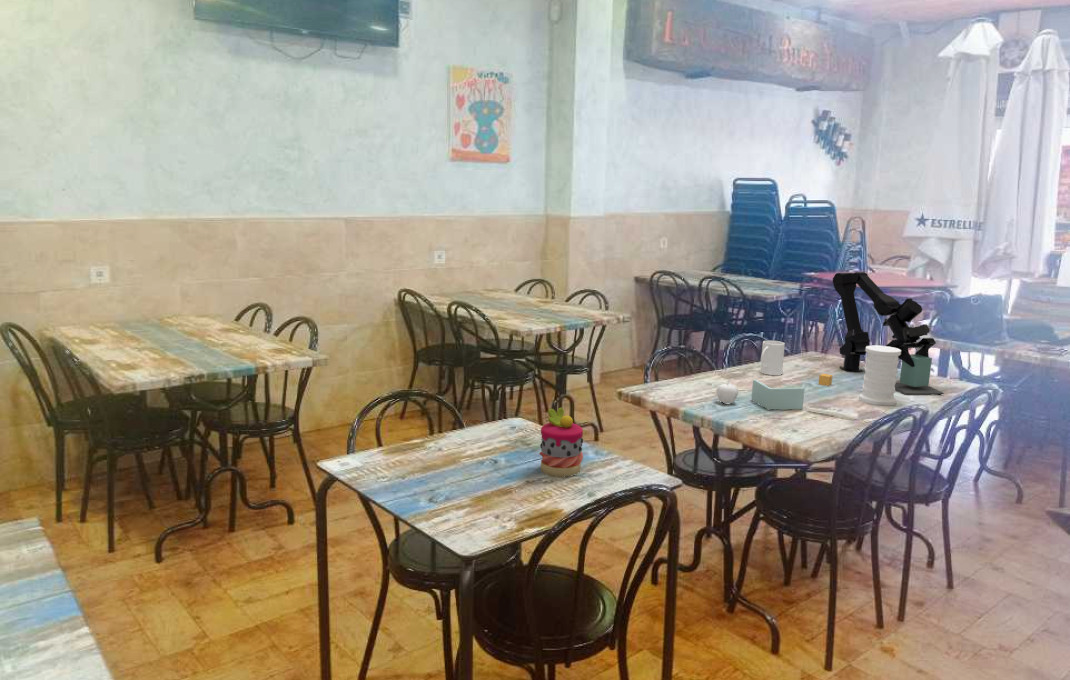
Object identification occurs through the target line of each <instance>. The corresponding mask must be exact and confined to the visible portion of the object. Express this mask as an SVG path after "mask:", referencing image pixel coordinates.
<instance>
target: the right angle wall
mask: <svg viewBox="0 0 1070 680" xmlns="http://www.w3.org/2000/svg"><path fill="white" fill-rule="evenodd" d="M804 398H805V387H780V388H777V387H775V388H774V387H773V388H771V387H769V386H768V385H766V384H765V383H763V382H760V381H759V380H757V379H753V380H752V389H751V399H752V400H754V401H755V402H754V401H753V402H754V403H756V402H757V403H759V404H760V405H762V406H763V407H765V408H767V409H792V410H803V407H804ZM751 399H750V400H751ZM752 400H751V401H752ZM757 403H756V404H757ZM759 404H758V405H759ZM760 405H759V406H760ZM762 406H761V407H762ZM763 407H762V408H763ZM765 408H764V409H765ZM767 409H766V410H767Z"/></svg>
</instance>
